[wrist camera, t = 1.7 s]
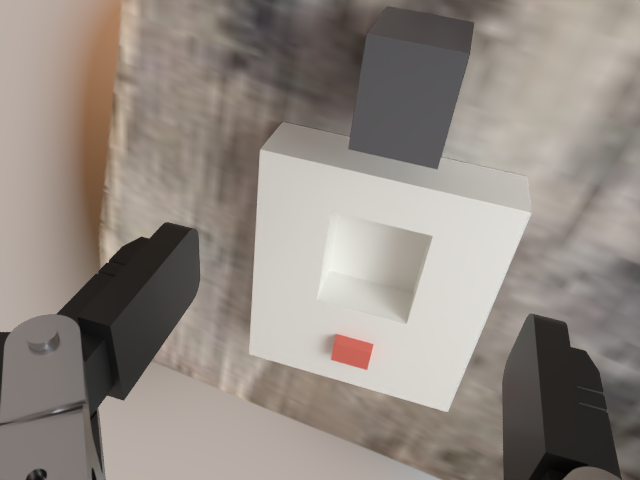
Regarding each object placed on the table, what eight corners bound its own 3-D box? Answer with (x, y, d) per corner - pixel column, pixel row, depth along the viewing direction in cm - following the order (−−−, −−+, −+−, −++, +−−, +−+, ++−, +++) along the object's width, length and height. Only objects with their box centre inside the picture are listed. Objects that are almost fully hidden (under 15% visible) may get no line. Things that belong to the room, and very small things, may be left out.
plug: (392, -1, 26) (366, 33, 21) (475, 15, 25) (469, 53, 20) (374, 98, 29) (348, 149, 24) (448, 114, 28) (437, 169, 23)
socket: (282, 121, 31) (254, 155, 27) (527, 176, 29) (532, 221, 25) (267, 317, 41) (244, 362, 37) (451, 369, 39) (446, 421, 35)
